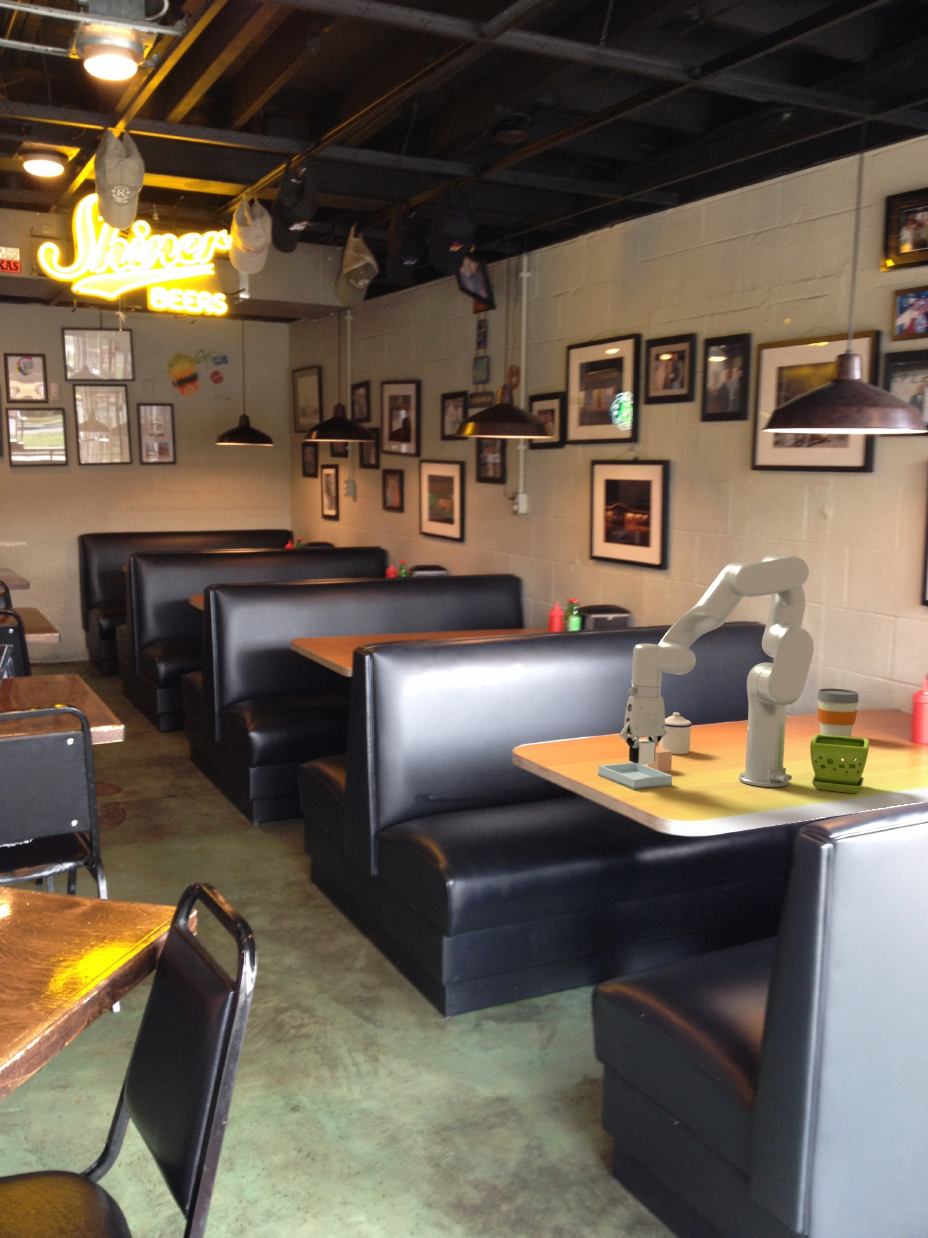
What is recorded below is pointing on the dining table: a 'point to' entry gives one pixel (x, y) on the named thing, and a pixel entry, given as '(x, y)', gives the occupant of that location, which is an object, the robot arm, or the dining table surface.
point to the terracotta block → (662, 760)
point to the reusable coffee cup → (837, 711)
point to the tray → (635, 775)
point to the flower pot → (838, 762)
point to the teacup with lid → (676, 735)
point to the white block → (646, 751)
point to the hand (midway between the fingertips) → (641, 760)
